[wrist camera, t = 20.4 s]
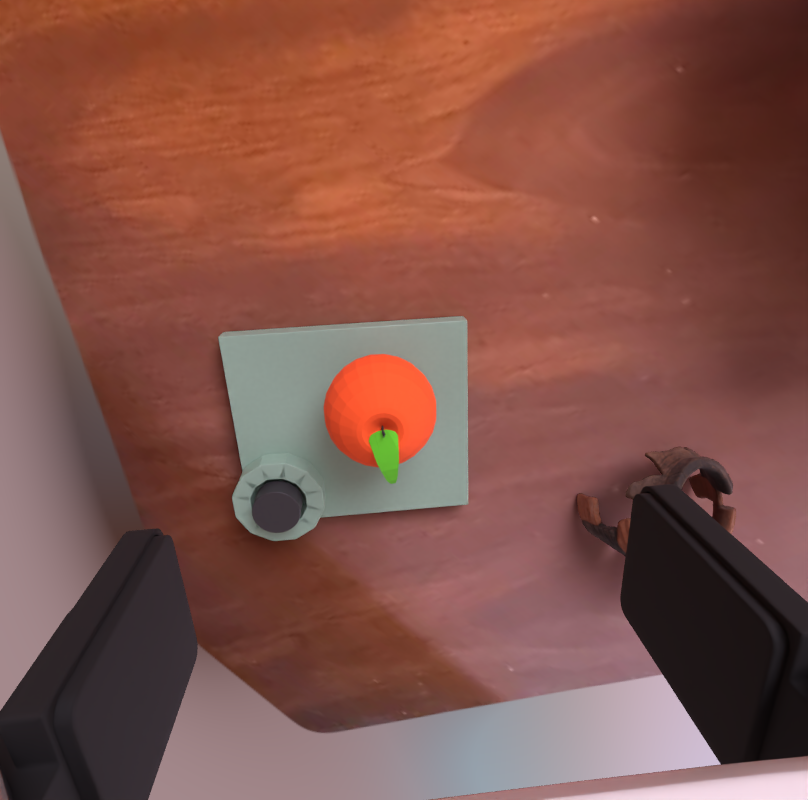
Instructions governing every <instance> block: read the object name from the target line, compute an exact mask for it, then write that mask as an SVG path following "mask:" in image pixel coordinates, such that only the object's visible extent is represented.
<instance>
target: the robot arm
mask: <svg viewBox="0 0 808 800" xmlns="http://www.w3.org/2000/svg"><path fill="white" fill-rule="evenodd" d="M620 600H621V607H622V610H623V613H624V615H625V617H626V618H627V620H628V621H629V623H630V625H631V626H632V628H633V629H634V631H635V632H636V634H637V635H638V637H639V638H640V640H641V642H642V643H643V645H644V646H645V648H646V649H647V651H648V652H649V654H650V655H651V657H652V659H653V660H654V662H655V663H656V665H657V666H658V668H659V669H660V671H661V672H662V674H663V675H664V677H665V678H666V680H667V682H668V683H669V684H670V686H671V688H672V689H673V691H674V692H675V694H676V695H677V697H678V699H679V700H680V702H681V703H682V705H683V706H684V708H685V709H686V711H687V713H688V714H689V716H690V717H691V719H692V720H693V722H694V723H695V725H696V726H697V728H698V729H699V731H700V732H701V734H702V736H703V737H704V739H705V740H706V742H707V743H708V745H709V747H710V748H711V749H712V751H713V753H714V754H715V756H716V757H717V759H718V760H719V762H720V763H721V765H713V766H705V767H696V768H688V769H679V770H671V771H662V772H653V773H646V774H636V775H628V776H619V777H611V778H602V779H594V780H585V781H577V782H569V783H560V784H552V785H544V786H536V787H528V788H519V789H511V790H504V791H495V792H487V793H479V794H471V795H463V796H454V797H448V798H438V799H431V800H808V602H807V601H805V600H804V599H803V598H802V597H801V596H800V595H799V594H798V593H796V592H795V591H794V590H793V589H792V588H791V587H790V586H789V585H787V584H786V583H785V582H784V581H783V580H782V579H781V578H780V577H779V576H777V575H776V574H775V573H774V572H773V571H772V570H771V569H770V568H768V567H767V566H766V565H765V564H764V563H763V562H762V561H761V560H759V559H758V558H757V557H756V556H755V555H754V554H753V553H752V552H750V551H749V550H748V549H747V548H746V547H745V546H744V545H743V544H742V543H740V542H739V541H738V540H737V539H736V538H735V537H734V536H733V535H731V534H730V533H729V532H728V531H727V530H726V529H725V528H724V527H722V526H721V525H720V524H719V523H718V522H717V521H716V520H715V519H713V518H712V517H711V516H710V515H709V514H708V513H707V512H706V511H705V510H703V509H702V508H701V507H700V506H699V505H698V504H697V503H696V502H694V501H693V500H692V499H691V498H690V497H689V496H688V495H687V494H685V493H684V492H683V491H682V490H681V489H680V488H679V487H677V486H676V485H674V484H665V485H653V486H645V487H643V488H642V490H641V492H640V494H636V495H635V496H634V499H633V504H632V512H631V520H630V527H629V535H628V543H627V550H626V558H625V566H624V573H623V581H622V589H621V598H620ZM196 657H197V638H196V634H195V630H194V625H193V621H192V617H191V613H190V609H189V605H188V601H187V597H186V593H185V589H184V584H183V580H182V576H181V572H180V568H179V564H178V560H177V556H176V552H175V547H174V543H173V540H172V538H171V536H169V535H164V536H163V533H162V532H161V530H160V529H147V530H136V531H128V532H126V533H125V534H124V535H123V536H122V538H121V539H120V541H119V542H118V544H117V545H116V546H115V548H114V549H113V551H112V552H111V554H110V555H109V557H108V558H107V560H106V561H105V563H104V564H103V565H102V567H101V568H100V570H99V571H98V573H97V574H96V576H95V577H94V578H93V580H92V581H91V583H90V584H89V586H88V587H87V589H86V590H85V592H84V593H83V595H82V596H81V598H80V599H79V600H78V602H77V603H76V605H75V606H74V608H73V609H72V610H71V611H70V612H69V613H68V614H67V615H66V617H65V618H64V620H63V621H62V623H61V624H60V625H59V627H58V629H57V630H56V631H55V633H54V634H53V636H52V637H51V639H50V640H49V641H48V643H47V644H46V646H45V647H44V649H43V650H42V652H41V653H40V655H39V656H38V657H37V659H36V660H35V662H34V663H33V665H32V666H31V667H30V669H29V670H28V672H27V673H26V675H25V676H24V678H23V679H22V681H21V682H20V683H19V685H18V686H17V688H16V689H15V691H14V692H13V693H12V695H11V696H10V698H9V699H8V701H7V702H6V704H5V705H4V707H3V708H2V709H1V711H0V800H148V798H149V795H150V792H151V789H152V786H153V783H154V780H155V777H156V774H157V772H158V768H159V766H160V763H161V760H162V757H163V754H164V751H165V748H166V745H167V743H168V740H169V737H170V734H171V731H172V728H173V725H174V722H175V719H176V716H177V713H178V711H179V707H180V705H181V701H182V699H183V696H184V693H185V690H186V687H187V684H188V682H189V679H190V676H191V673H192V670H193V667H194V664H195V661H196Z"/></svg>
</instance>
